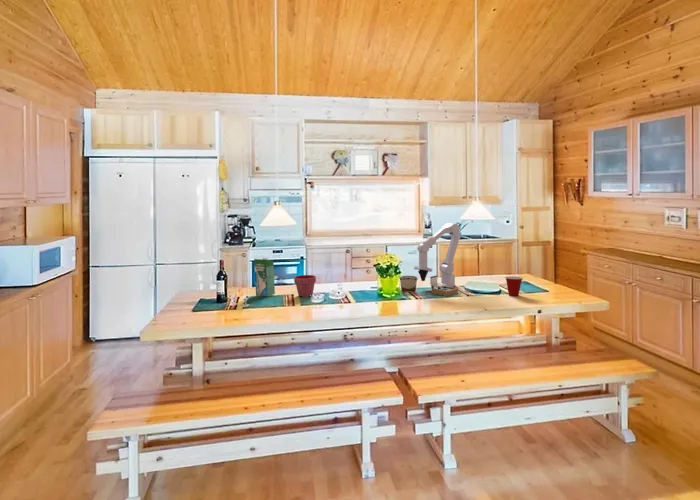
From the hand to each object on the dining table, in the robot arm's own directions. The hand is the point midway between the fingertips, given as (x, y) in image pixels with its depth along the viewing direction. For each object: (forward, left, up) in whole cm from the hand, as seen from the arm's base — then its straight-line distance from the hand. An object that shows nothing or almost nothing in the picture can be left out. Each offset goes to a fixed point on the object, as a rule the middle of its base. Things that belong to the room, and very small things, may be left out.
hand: (423, 280), depth 329 cm
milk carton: (+88, -62, -6) cm, 107 cm away
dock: (+1, +15, -6) cm, 16 cm away
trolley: (+1, +14, -3) cm, 15 cm away
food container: (+13, -2, -6) cm, 14 cm away
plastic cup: (-24, +54, -6) cm, 59 cm away
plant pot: (+70, -41, -6) cm, 81 cm away
